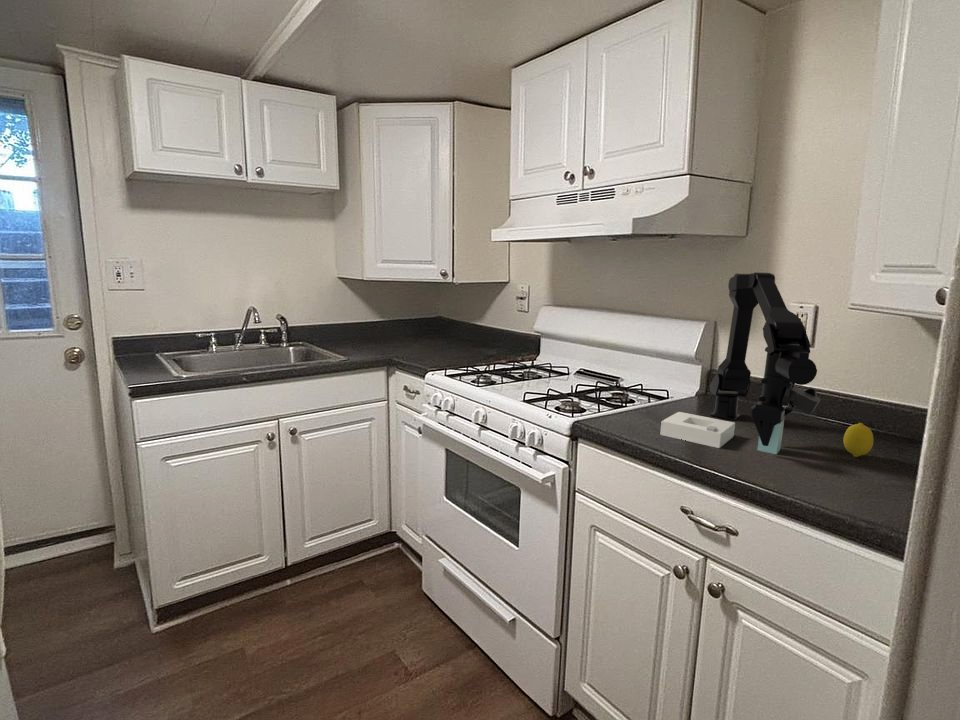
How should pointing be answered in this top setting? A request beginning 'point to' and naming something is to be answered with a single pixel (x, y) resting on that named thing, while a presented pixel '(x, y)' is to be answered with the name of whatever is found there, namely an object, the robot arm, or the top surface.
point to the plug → (773, 440)
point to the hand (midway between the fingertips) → (769, 441)
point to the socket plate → (698, 429)
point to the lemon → (858, 439)
